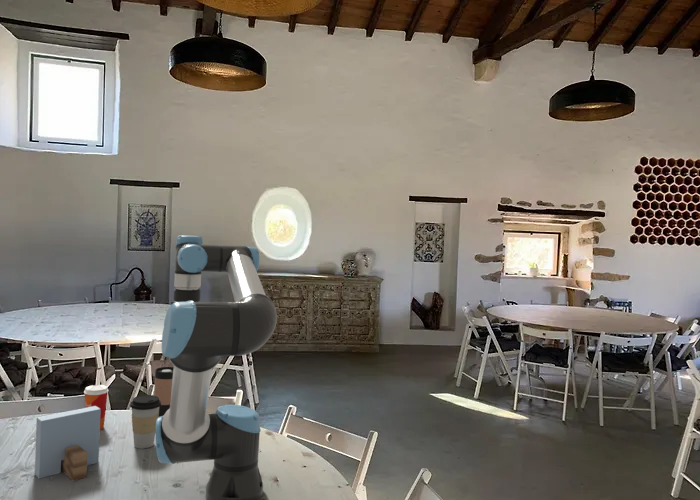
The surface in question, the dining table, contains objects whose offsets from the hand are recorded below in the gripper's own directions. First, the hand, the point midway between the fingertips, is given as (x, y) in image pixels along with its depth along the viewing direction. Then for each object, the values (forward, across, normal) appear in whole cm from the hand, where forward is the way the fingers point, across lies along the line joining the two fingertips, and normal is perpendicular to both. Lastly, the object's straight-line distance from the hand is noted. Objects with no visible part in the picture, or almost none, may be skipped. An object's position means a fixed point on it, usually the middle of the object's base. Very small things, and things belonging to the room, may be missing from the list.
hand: (184, 359), depth 162 cm
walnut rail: (+32, +18, +25) cm, 44 cm away
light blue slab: (+32, +18, +25) cm, 44 cm away
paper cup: (+32, +43, +7) cm, 54 cm away
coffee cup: (+32, +20, +1) cm, 38 cm away
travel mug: (+32, +31, -12) cm, 46 cm away
